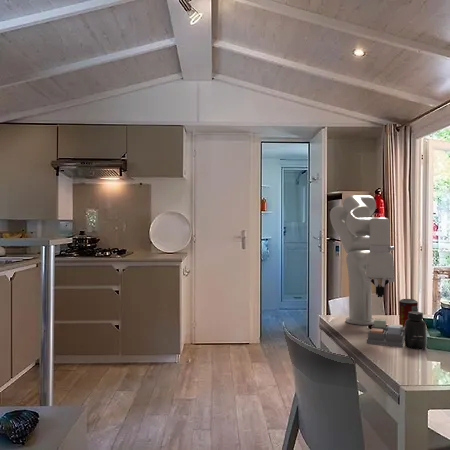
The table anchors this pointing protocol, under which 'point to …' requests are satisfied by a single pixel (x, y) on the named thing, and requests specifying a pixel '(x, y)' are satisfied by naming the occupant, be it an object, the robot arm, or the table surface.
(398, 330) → the slate key
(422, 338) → the supplement bottle
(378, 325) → the sage key
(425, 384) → the table surface
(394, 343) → the keypad
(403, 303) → the soda can
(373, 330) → the terracotta key
